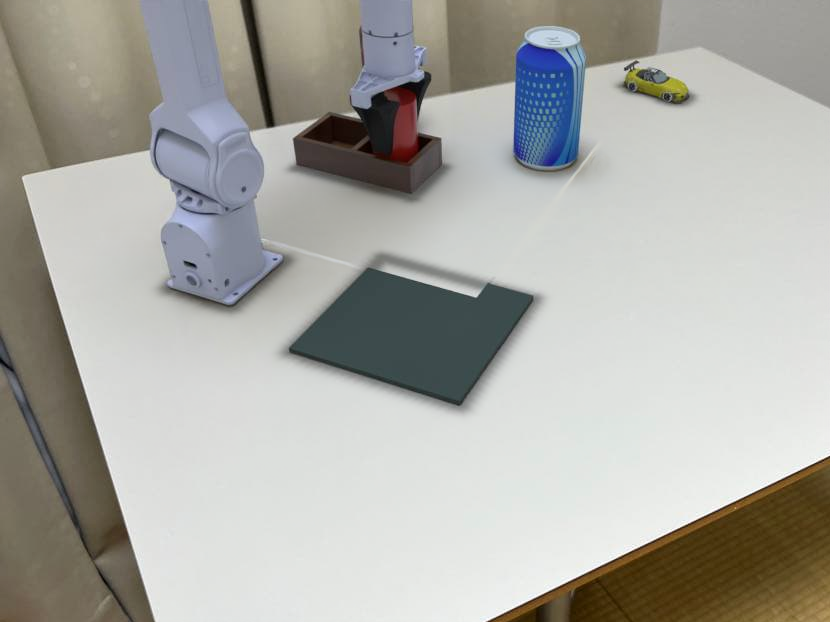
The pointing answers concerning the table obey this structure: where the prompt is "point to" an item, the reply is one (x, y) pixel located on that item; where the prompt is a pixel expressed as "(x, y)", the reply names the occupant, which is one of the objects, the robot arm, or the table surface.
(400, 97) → the can
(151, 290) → the table surface
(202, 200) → the robot arm
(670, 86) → the toy car
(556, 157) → the beer can
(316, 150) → the holder
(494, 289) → the mat
